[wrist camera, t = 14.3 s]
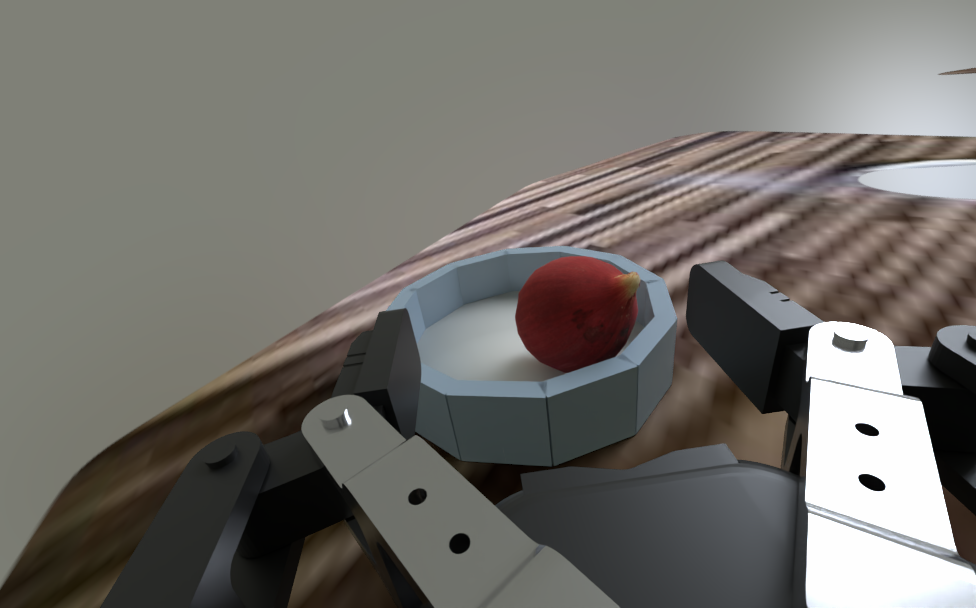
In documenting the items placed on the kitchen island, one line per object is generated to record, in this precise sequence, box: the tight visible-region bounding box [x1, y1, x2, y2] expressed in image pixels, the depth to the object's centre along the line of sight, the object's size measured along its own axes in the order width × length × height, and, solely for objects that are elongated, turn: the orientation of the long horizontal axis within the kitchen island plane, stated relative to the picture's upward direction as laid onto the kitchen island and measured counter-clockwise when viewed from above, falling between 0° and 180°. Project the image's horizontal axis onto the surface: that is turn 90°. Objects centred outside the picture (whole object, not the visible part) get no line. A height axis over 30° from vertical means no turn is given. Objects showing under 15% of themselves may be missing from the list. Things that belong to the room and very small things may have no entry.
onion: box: [515, 256, 641, 373], centre depth 22 cm, size 6×6×8 cm
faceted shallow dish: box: [386, 246, 677, 467], centre depth 26 cm, size 16×16×4 cm
